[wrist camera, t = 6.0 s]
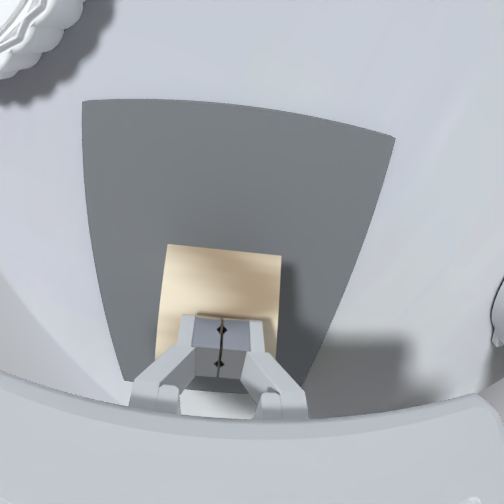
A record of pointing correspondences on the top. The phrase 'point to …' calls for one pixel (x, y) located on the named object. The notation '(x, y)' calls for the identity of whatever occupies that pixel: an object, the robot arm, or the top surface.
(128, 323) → the rubber mat
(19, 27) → the white mooncake
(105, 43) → the top surface
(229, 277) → the maple block
